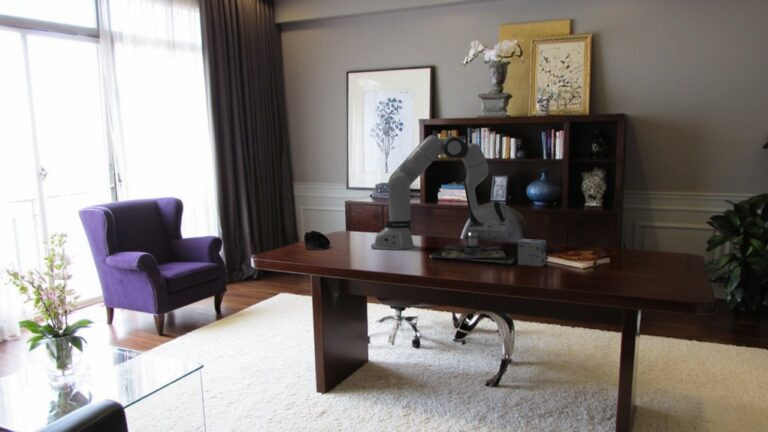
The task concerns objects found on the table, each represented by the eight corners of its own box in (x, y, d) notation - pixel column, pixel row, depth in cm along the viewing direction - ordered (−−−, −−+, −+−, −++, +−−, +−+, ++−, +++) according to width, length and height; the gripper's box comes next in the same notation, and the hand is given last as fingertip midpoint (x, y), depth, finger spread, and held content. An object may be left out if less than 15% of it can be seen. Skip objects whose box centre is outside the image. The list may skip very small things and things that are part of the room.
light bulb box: (546, 264, 244) (546, 239, 243) (541, 267, 239) (541, 242, 237) (522, 261, 250) (522, 238, 249) (517, 264, 245) (517, 240, 243)
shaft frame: (442, 258, 260) (441, 247, 260) (442, 254, 270) (442, 243, 270) (505, 258, 257) (505, 247, 256) (503, 254, 266) (503, 243, 266)
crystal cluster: (335, 248, 296) (334, 229, 295) (316, 250, 285) (316, 231, 285) (318, 247, 304) (317, 229, 304) (299, 249, 294) (298, 231, 294)
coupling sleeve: (468, 254, 261) (468, 233, 260) (468, 252, 266) (467, 231, 265) (478, 254, 261) (478, 233, 259) (477, 252, 265) (477, 231, 264)
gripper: (472, 222, 286) (461, 226, 275) (510, 225, 275) (500, 229, 264) (472, 235, 287) (461, 239, 276) (510, 237, 276) (500, 242, 265)
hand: (480, 234), depth 270 cm, fingers open, 8 cm apart
